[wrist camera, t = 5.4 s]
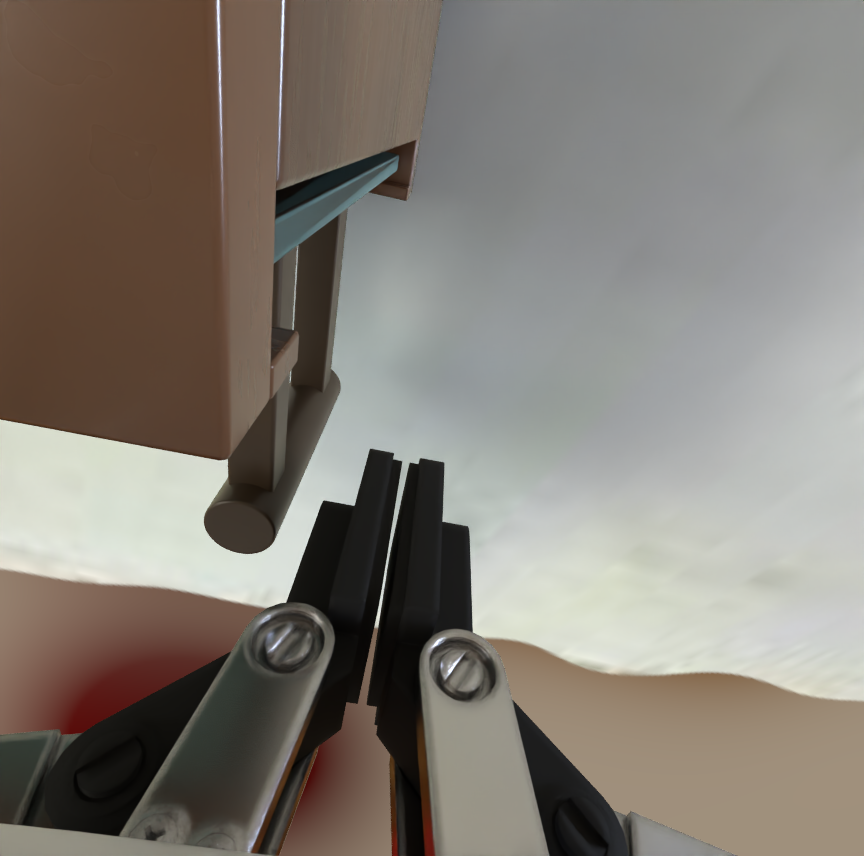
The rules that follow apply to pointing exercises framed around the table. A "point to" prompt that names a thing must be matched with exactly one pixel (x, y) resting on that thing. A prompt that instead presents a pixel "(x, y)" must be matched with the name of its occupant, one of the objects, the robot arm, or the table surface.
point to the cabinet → (178, 195)
